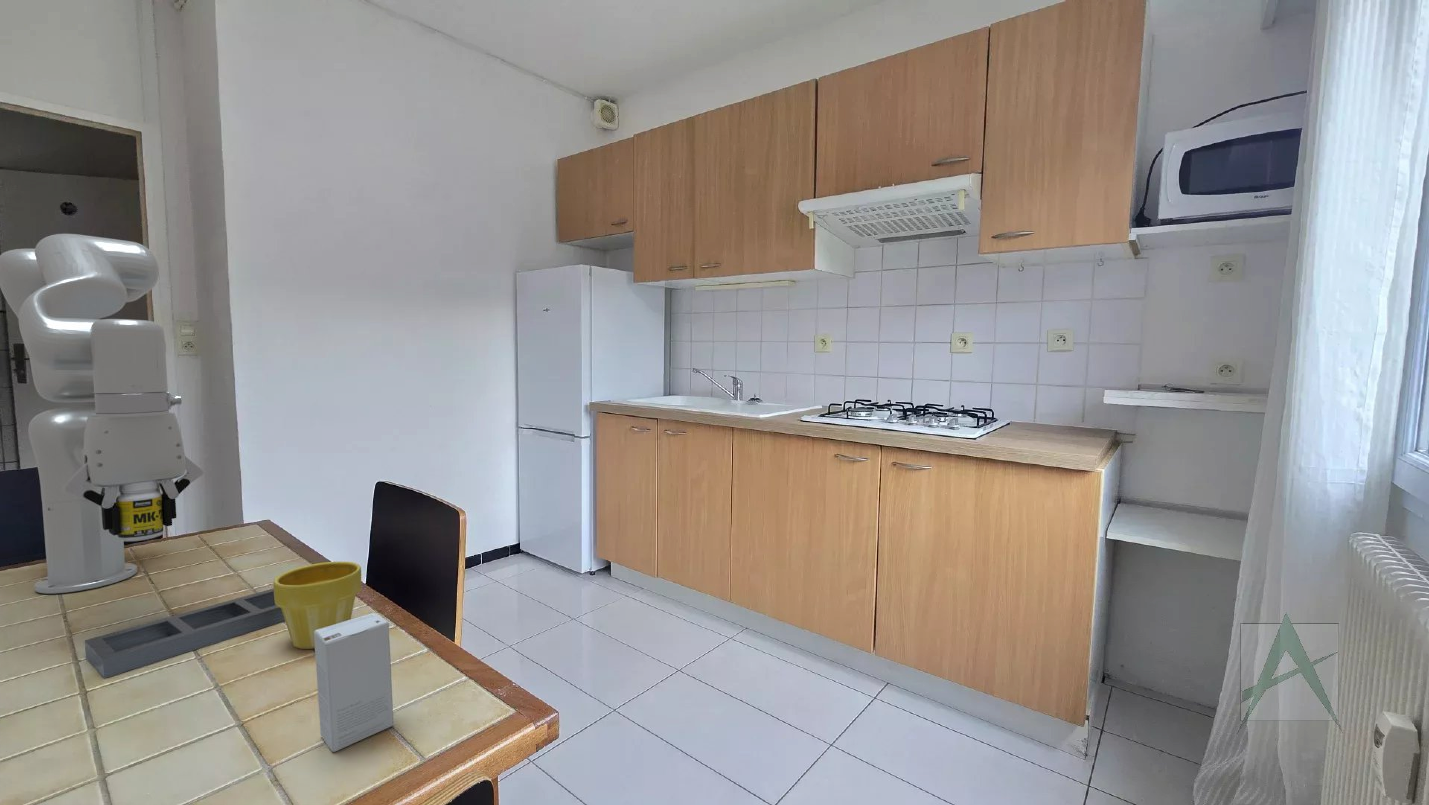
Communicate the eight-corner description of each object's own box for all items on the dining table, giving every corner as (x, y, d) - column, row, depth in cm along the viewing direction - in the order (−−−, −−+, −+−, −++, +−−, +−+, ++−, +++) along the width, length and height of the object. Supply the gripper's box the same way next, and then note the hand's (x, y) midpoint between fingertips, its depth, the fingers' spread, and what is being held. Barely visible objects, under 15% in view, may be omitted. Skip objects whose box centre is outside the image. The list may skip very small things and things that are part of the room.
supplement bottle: (134, 543, 82) (130, 485, 81) (109, 541, 83) (105, 483, 82) (172, 533, 87) (168, 478, 86) (148, 531, 88) (144, 477, 87)
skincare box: (379, 712, 66) (376, 609, 65) (395, 728, 63) (392, 620, 62) (316, 738, 61) (312, 628, 61) (330, 757, 59) (326, 641, 58)
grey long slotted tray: (85, 657, 78) (84, 640, 78) (298, 595, 99) (297, 581, 99) (104, 678, 73) (103, 660, 73) (324, 608, 94) (323, 594, 93)
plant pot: (330, 618, 90) (327, 556, 90) (379, 628, 87) (377, 564, 86) (258, 648, 80) (255, 580, 80) (311, 662, 77) (308, 590, 76)
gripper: (200, 401, 93) (206, 513, 94) (38, 408, 79) (48, 539, 80) (216, 403, 89) (223, 520, 90) (49, 410, 74) (59, 549, 76)
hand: (141, 527), depth 85 cm, fingers closed on supplement bottle, 4 cm apart
